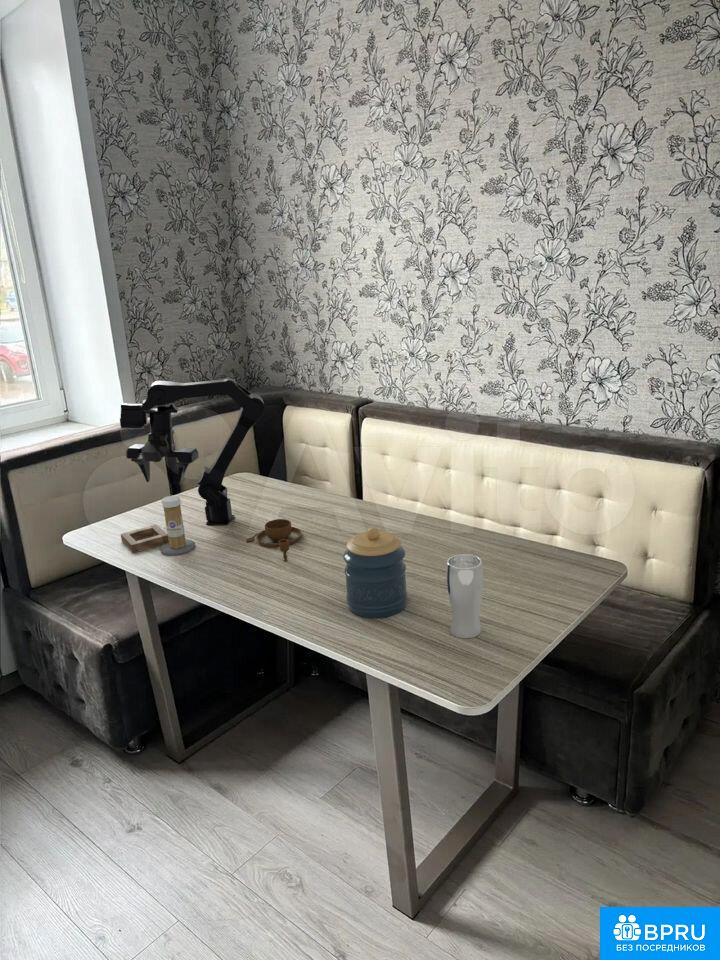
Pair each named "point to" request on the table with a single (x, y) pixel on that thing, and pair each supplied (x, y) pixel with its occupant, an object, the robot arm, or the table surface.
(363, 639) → the table surface
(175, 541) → the sprinkles bottle
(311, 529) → the table surface
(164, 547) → the coaster
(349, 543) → the canister
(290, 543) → the place setting
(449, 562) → the beer glass
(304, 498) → the table surface
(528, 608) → the table surface
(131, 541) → the square wooden frame
